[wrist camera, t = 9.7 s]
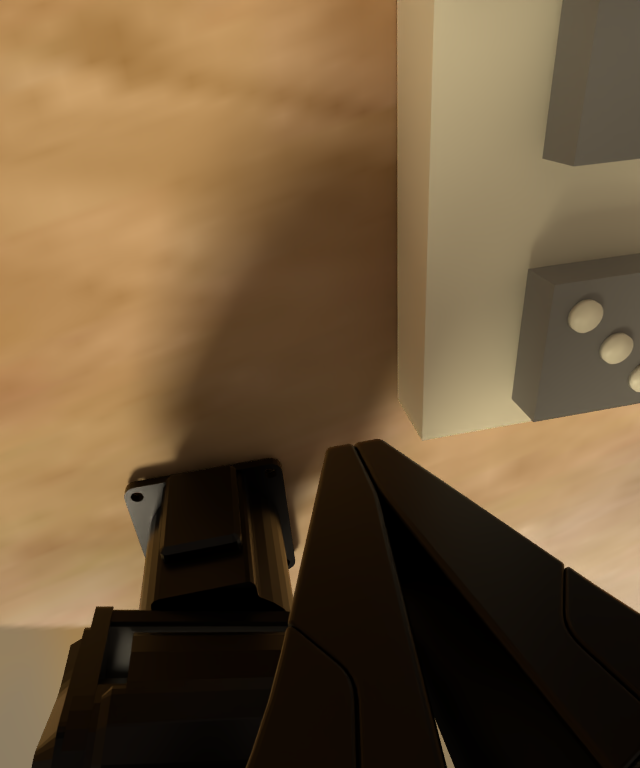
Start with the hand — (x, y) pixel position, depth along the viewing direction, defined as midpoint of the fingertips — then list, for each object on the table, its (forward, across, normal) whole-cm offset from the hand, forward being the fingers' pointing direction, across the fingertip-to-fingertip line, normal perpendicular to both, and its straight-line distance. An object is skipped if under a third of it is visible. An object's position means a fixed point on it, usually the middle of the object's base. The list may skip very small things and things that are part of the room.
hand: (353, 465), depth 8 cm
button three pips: (+8, -10, +3) cm, 13 cm away
